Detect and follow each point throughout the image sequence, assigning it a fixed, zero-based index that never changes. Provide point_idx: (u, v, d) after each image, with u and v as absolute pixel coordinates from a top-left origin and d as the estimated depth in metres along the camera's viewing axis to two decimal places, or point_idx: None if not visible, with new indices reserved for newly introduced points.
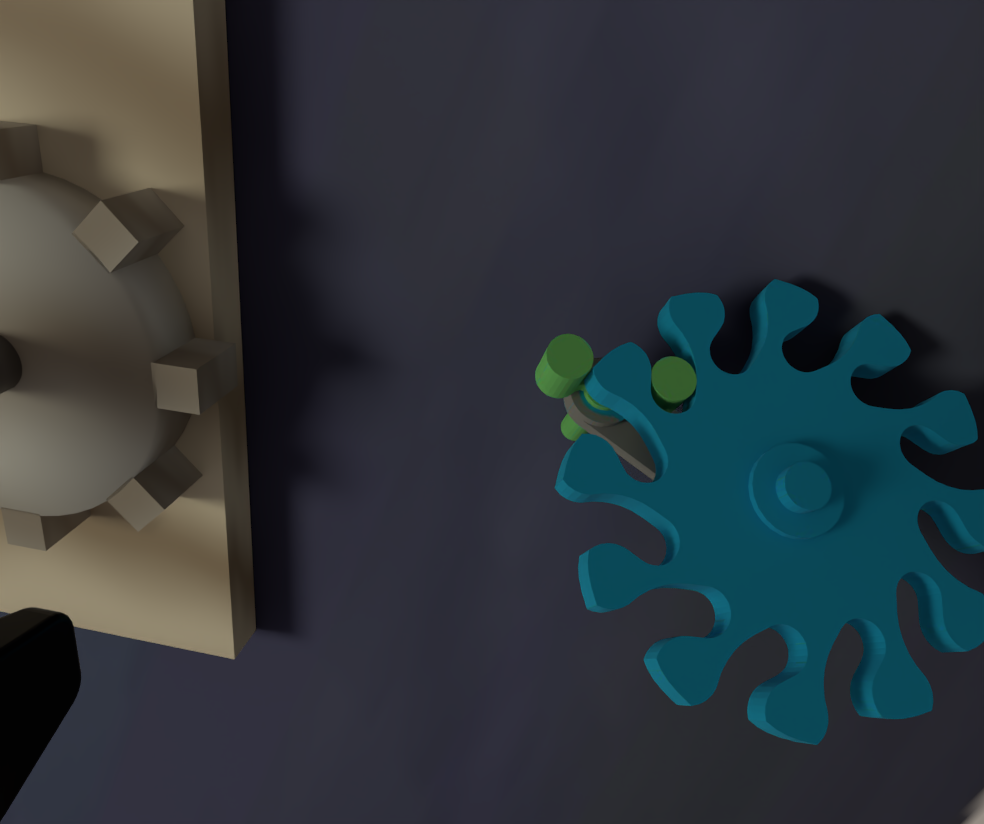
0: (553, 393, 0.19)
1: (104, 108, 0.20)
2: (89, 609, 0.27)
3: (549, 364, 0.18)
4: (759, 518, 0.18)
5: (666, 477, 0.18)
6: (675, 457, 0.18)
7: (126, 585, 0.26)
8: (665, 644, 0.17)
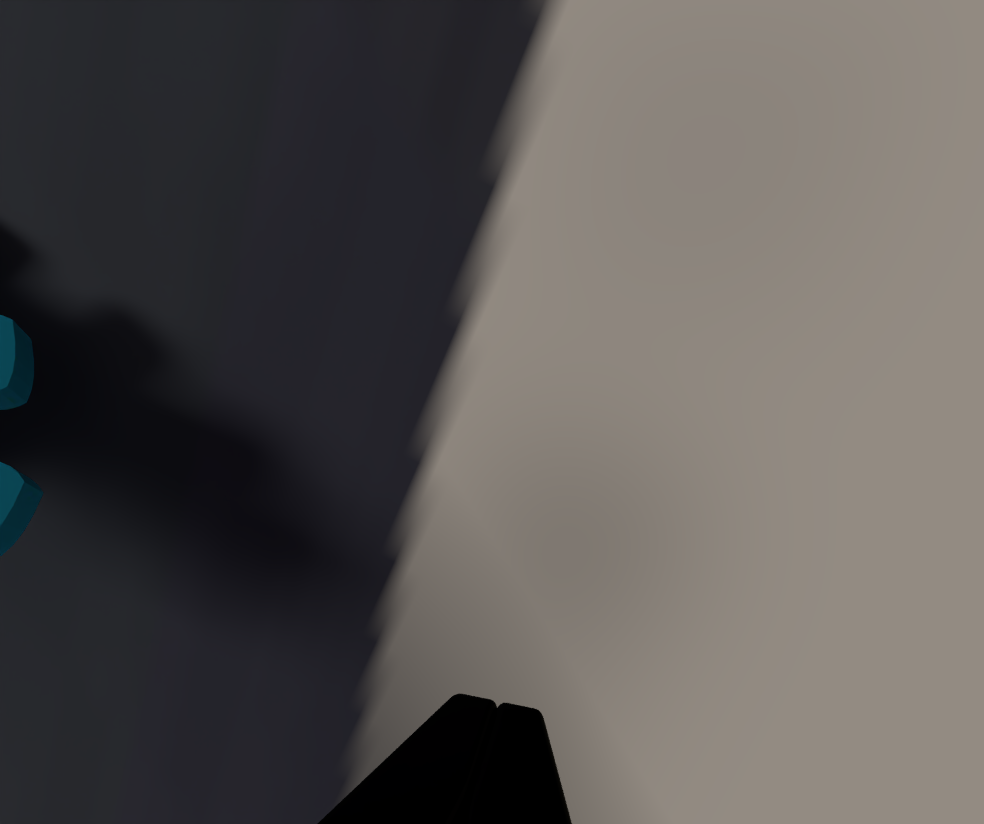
0: None
1: None
2: None
3: None
4: None
5: None
6: None
7: None
8: None
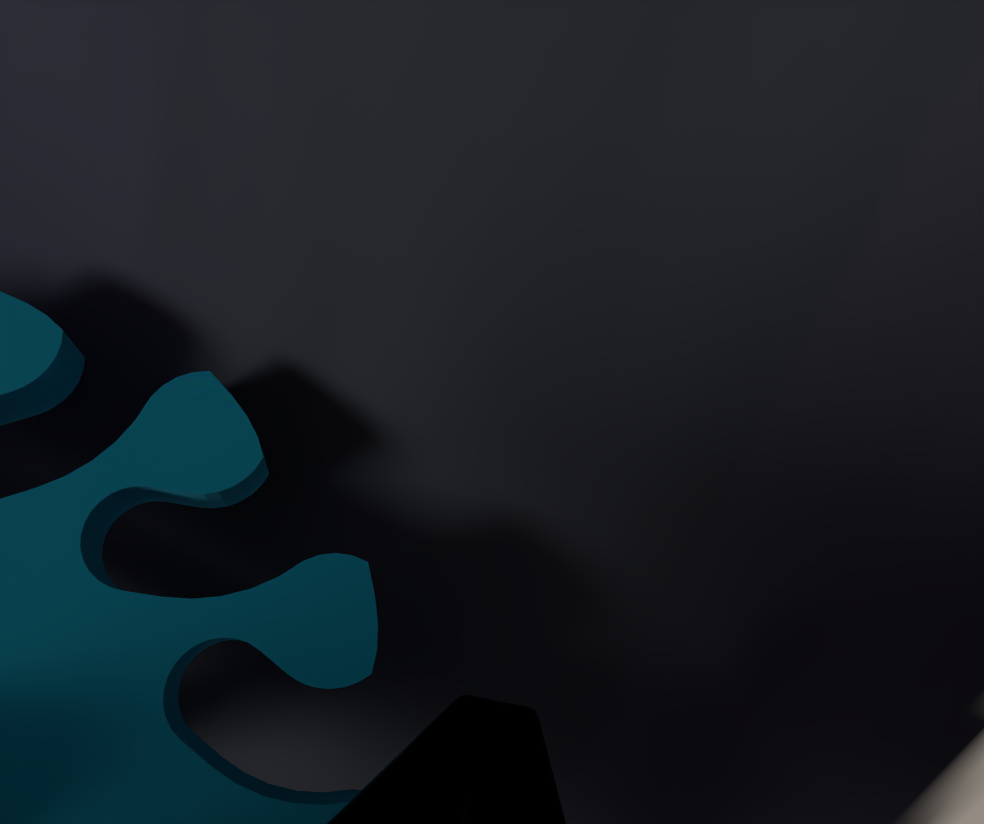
0: None
1: None
2: None
3: None
4: None
5: None
6: None
7: None
8: None
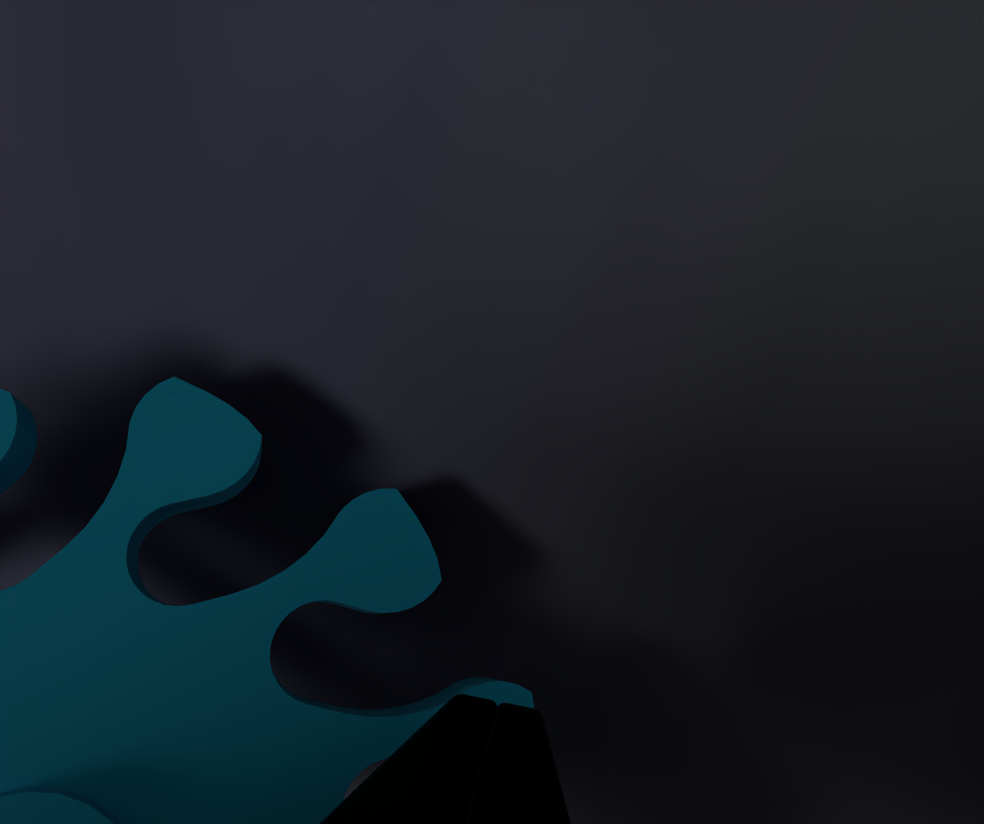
0: None
1: None
2: None
3: None
4: None
5: None
6: None
7: None
8: None
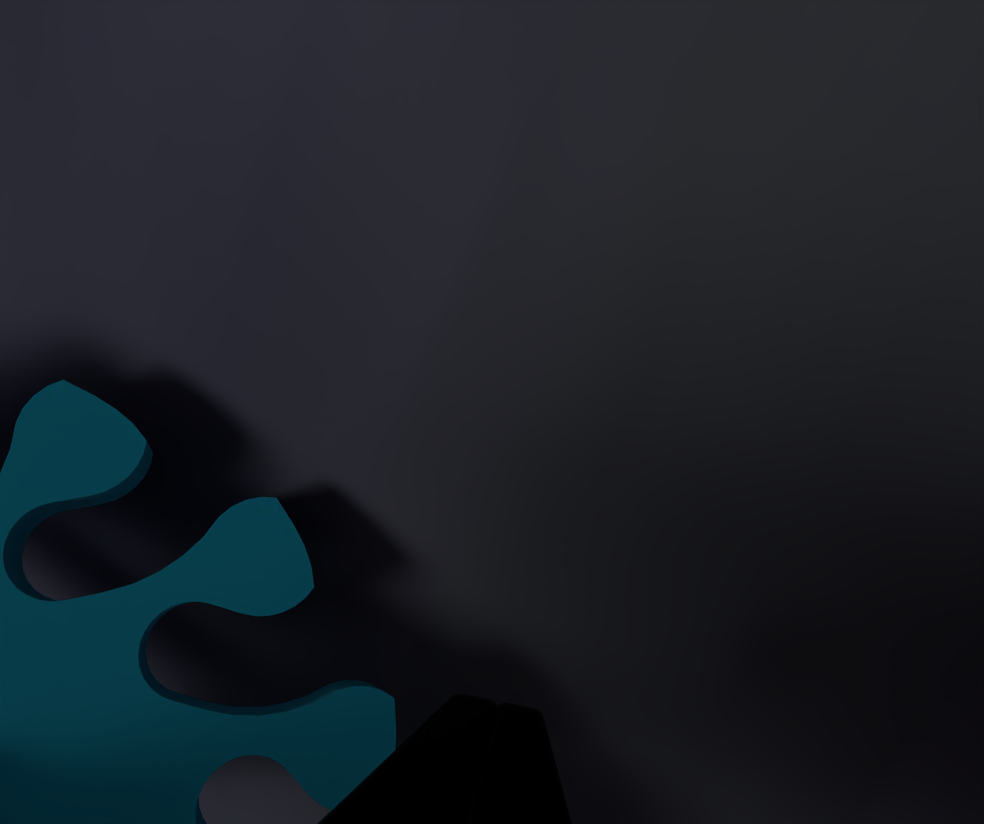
0: None
1: None
2: None
3: None
4: None
5: None
6: None
7: None
8: None
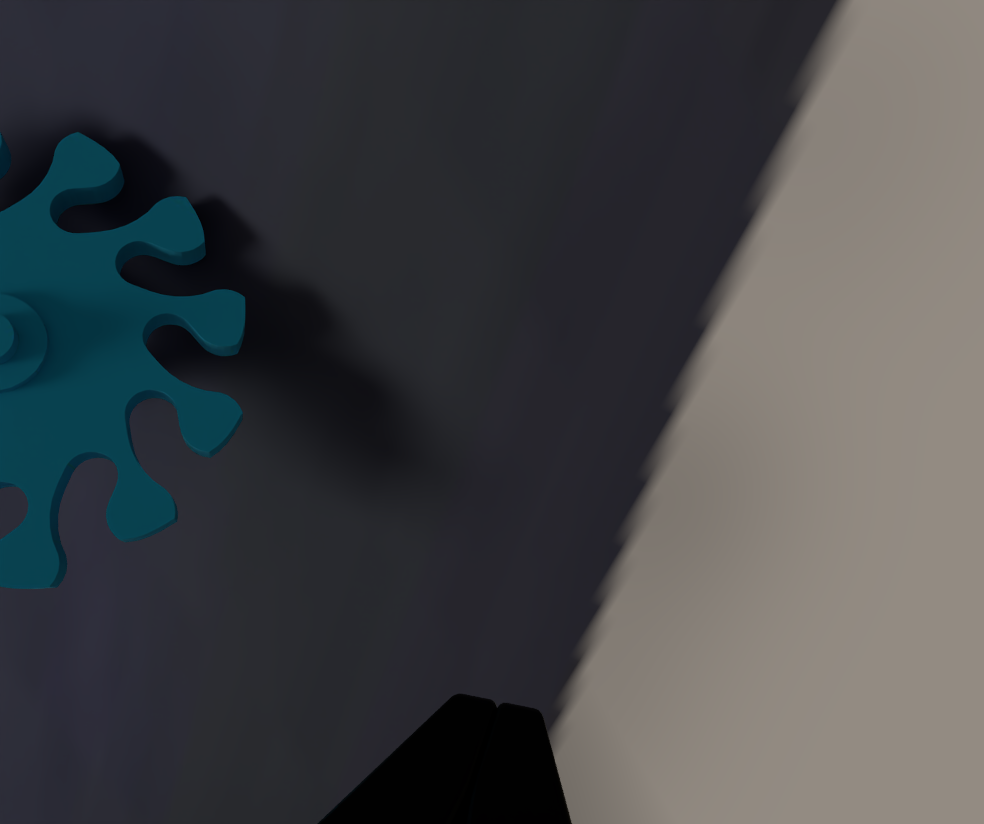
0: None
1: None
2: None
3: None
4: None
5: None
6: None
7: None
8: None
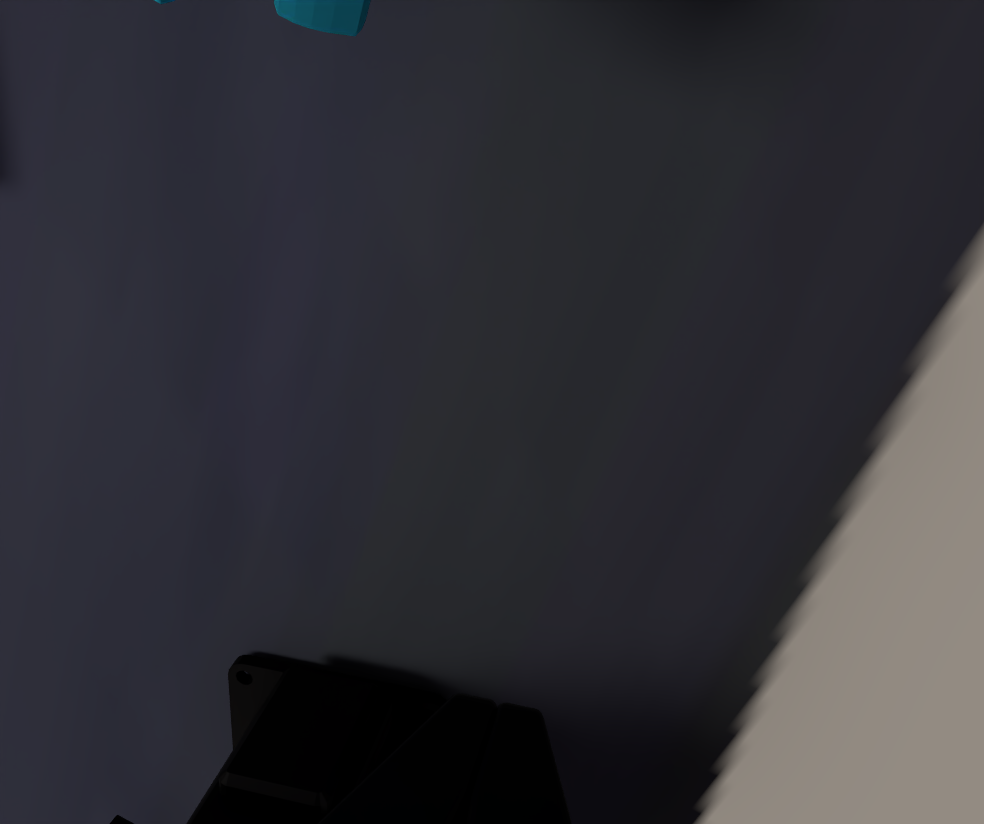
0: None
1: None
2: None
3: None
4: None
5: None
6: None
7: None
8: None
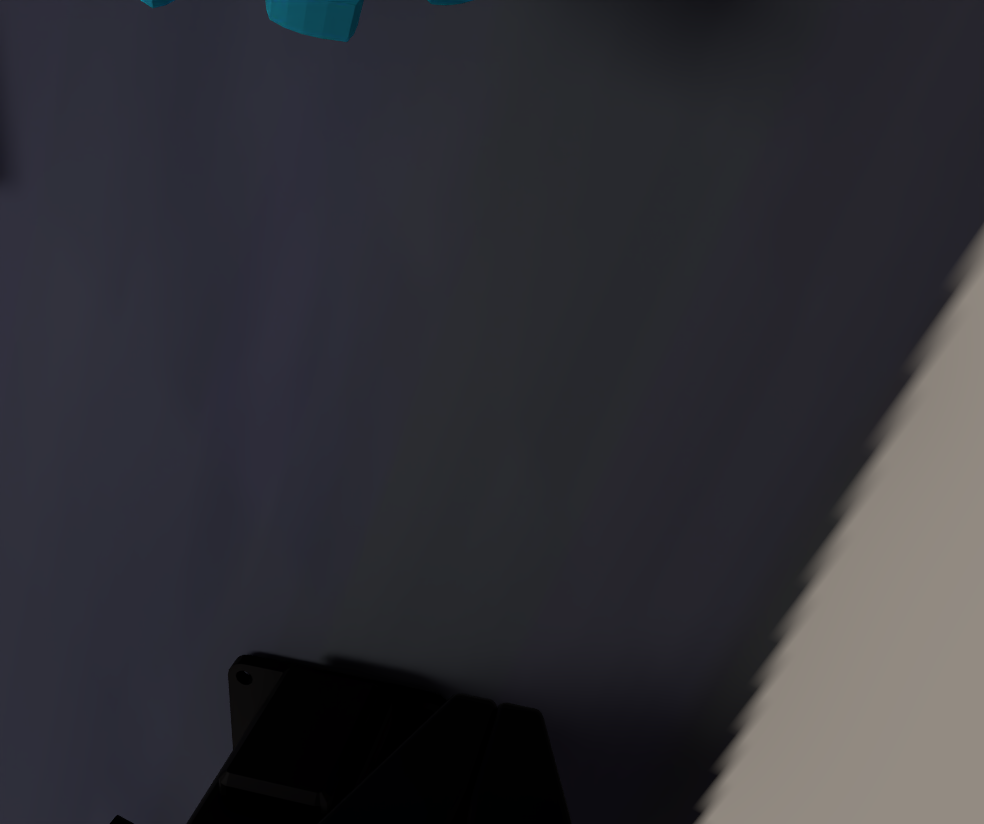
0: None
1: None
2: None
3: None
4: None
5: None
6: None
7: None
8: None
